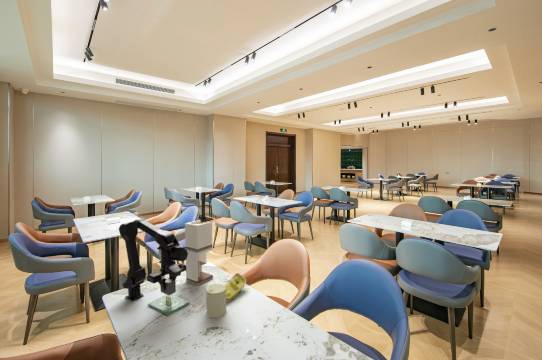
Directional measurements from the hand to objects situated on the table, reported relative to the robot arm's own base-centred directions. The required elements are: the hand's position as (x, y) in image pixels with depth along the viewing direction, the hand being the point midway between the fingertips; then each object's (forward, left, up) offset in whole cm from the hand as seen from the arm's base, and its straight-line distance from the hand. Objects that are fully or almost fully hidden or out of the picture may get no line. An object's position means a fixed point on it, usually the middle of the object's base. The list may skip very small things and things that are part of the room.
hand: (168, 289), depth 130 cm
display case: (-9, +28, -8) cm, 30 cm away
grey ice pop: (-2, 0, -1) cm, 2 cm away
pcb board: (0, 0, -8) cm, 8 cm away
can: (+25, +8, -8) cm, 28 cm away
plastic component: (+18, +25, -8) cm, 32 cm away
